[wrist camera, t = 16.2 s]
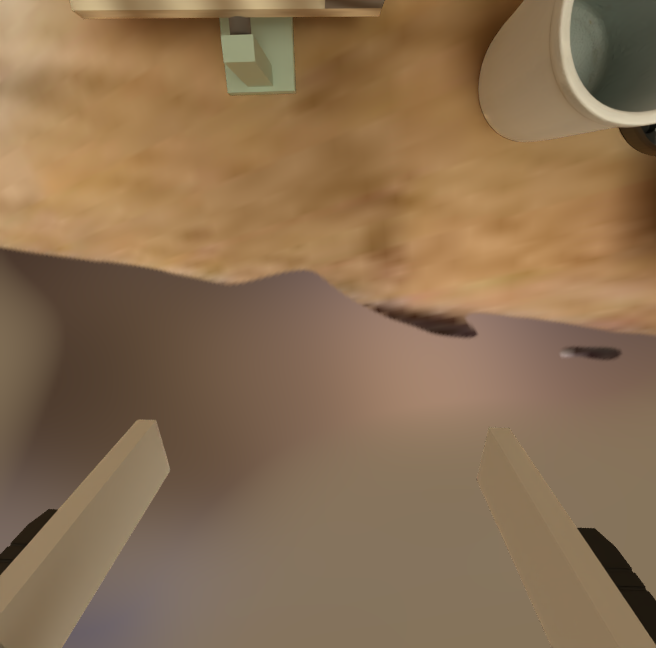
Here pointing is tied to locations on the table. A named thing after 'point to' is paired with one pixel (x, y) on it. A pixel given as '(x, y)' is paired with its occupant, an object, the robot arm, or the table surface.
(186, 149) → the table surface
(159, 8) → the seesaw plank
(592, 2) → the utensil holder
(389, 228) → the table surface
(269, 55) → the seesaw stand
